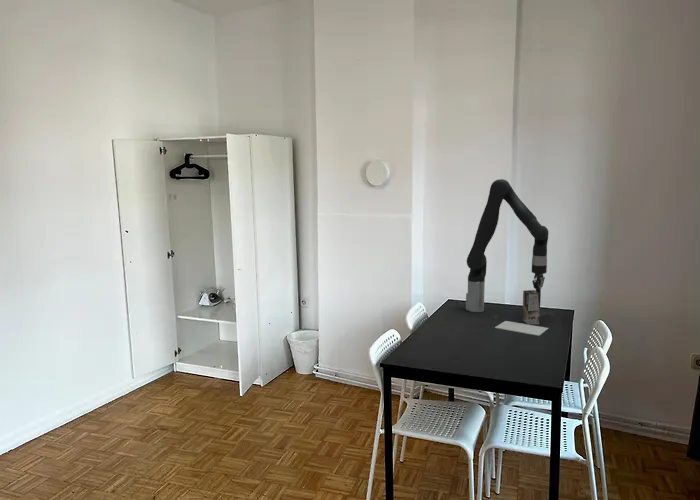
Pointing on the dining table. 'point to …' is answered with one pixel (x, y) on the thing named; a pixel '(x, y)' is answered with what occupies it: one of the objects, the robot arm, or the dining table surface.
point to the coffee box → (531, 307)
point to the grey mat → (522, 328)
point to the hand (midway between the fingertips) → (537, 295)
